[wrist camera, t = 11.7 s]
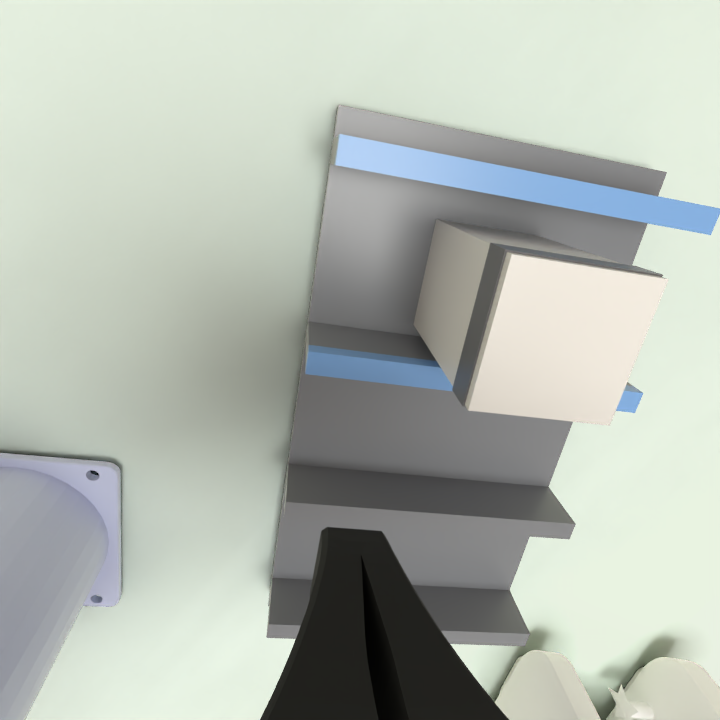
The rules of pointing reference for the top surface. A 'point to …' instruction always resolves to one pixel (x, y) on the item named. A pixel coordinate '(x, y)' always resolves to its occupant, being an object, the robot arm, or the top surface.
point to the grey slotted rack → (435, 366)
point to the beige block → (533, 322)
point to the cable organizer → (633, 704)
